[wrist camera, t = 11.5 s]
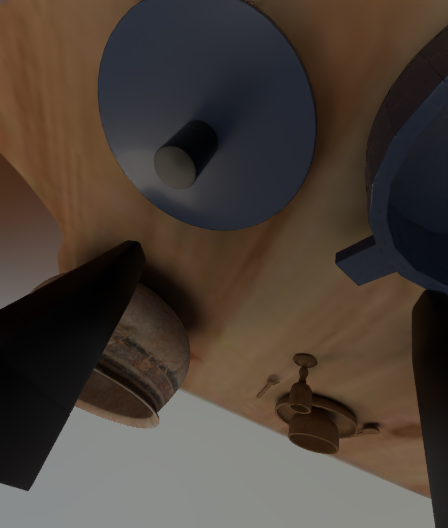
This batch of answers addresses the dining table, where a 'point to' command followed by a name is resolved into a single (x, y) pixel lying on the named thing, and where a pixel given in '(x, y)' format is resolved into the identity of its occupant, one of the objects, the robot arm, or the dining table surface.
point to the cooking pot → (138, 363)
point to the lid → (207, 110)
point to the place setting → (314, 415)
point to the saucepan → (408, 178)
